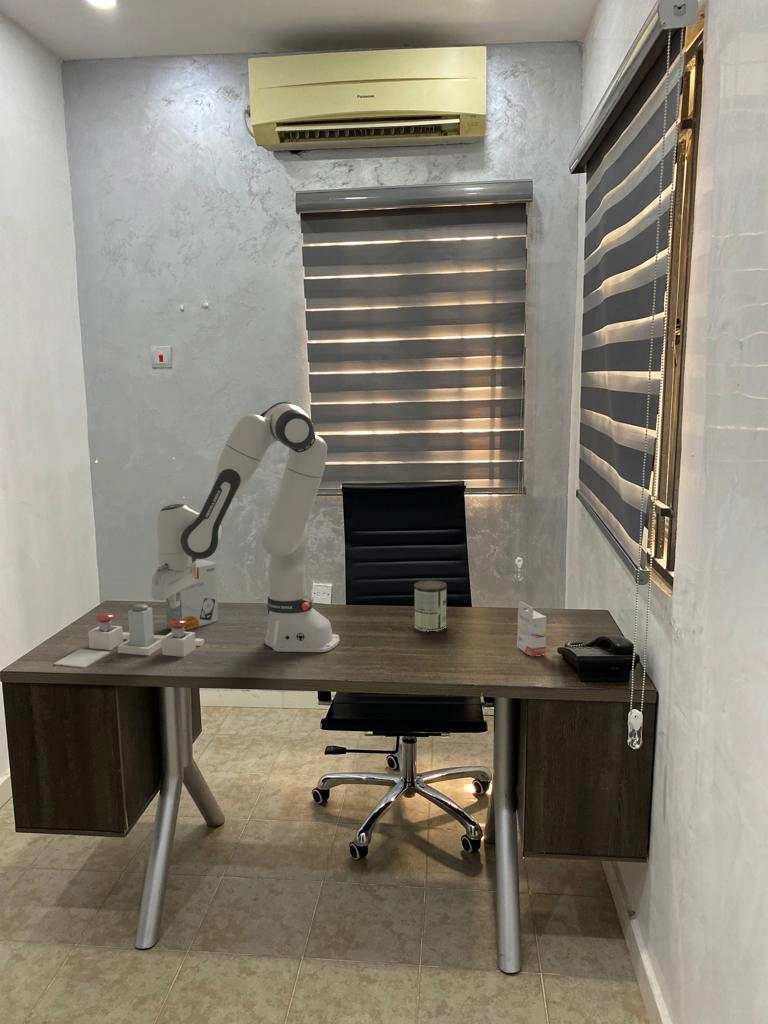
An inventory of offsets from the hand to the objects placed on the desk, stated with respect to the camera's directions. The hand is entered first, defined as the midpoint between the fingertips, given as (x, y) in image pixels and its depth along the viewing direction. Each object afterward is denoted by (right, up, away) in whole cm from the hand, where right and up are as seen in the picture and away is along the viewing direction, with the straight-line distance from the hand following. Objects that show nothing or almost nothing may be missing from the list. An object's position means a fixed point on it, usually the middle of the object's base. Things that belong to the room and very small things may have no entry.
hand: (175, 606), depth 233 cm
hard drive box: (-1, -9, +27) cm, 29 cm away
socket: (-11, -13, +7) cm, 18 cm away
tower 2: (+1, -13, +2) cm, 14 cm away
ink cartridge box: (+103, -14, +1) cm, 104 cm away
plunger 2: (+1, -11, +2) cm, 11 cm away
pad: (-26, -15, -3) cm, 30 cm away
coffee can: (+75, -10, +24) cm, 80 cm away
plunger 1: (-23, -10, +8) cm, 26 cm away
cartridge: (-11, -13, +5) cm, 18 cm away
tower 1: (-23, -12, +8) cm, 27 cm away
